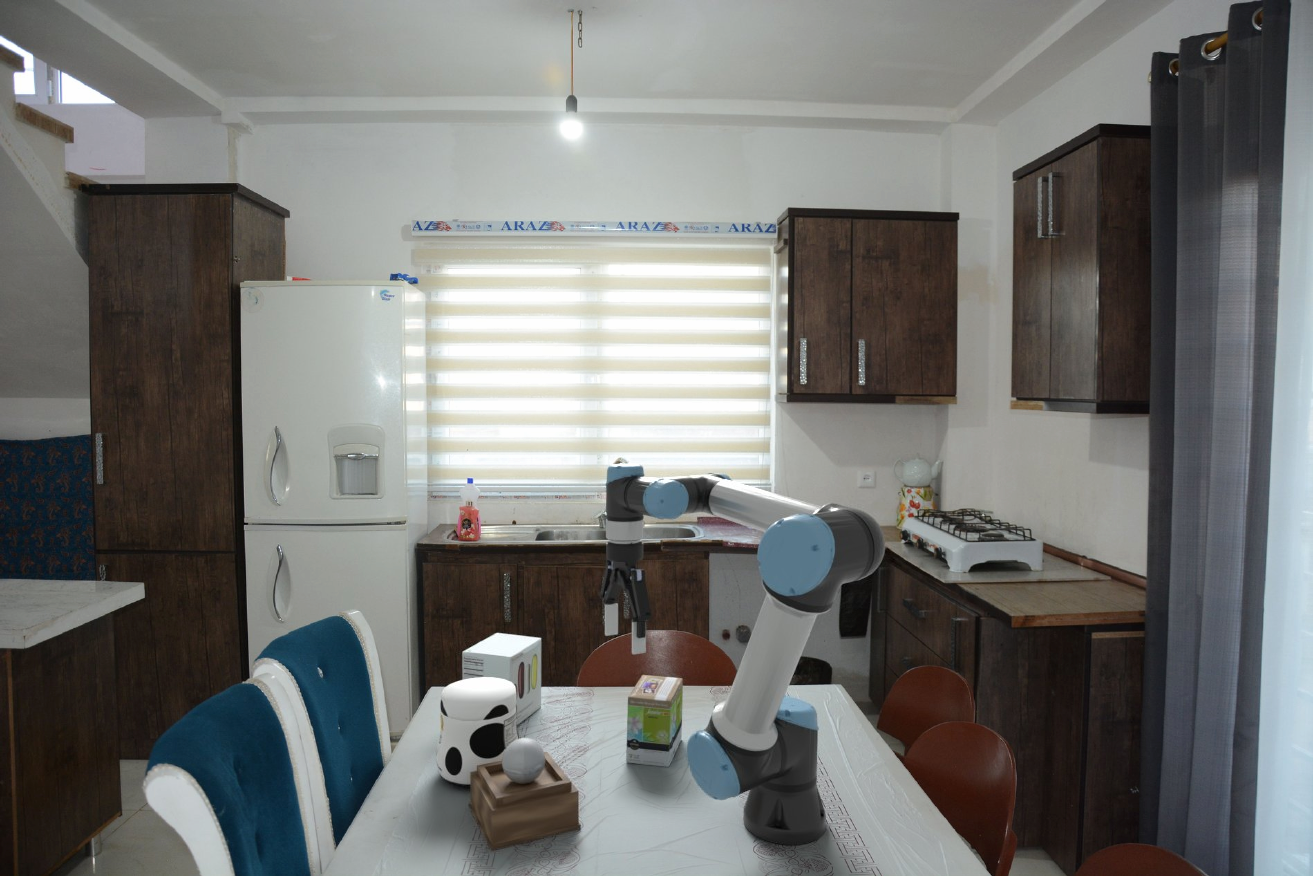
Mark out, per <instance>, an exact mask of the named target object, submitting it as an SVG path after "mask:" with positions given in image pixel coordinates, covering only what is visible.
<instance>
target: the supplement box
mask: <svg viewBox="0 0 1313 876" xmlns="http://www.w3.org/2000/svg"><path fill="white" fill-rule="evenodd" d="M461 656H462V660H461V662H462V663H461V664H462V666H461V667H462V669H461V670H462V680H465V679H470V678H480V677H493V678H500V679H505V680H507V681H510V682H512V683H513V684H514V685H515V688H516V695H517V700H516V705H517V726H518V725H520V724H521V723H523V721H524V720H526V719H528V717H529V716H530V717H531V715H533V714H534V713H535V712H536V711H538V710H539V709H541V707H542V637H537V636H536V637H535V636H527V635H518V634H511V633H509V634H508V633H501V632H496V633H493V634H492V635H490V636H489V637H487V638H485V639H483V640H481V641H479V642H478V643H476V644H474V645H472V646H471V647H468V648H466V649H465V650H463V651H462V654H461Z"/></svg>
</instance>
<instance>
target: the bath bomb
mask: <svg viewBox="0 0 1313 876" xmlns="http://www.w3.org/2000/svg"><path fill="white" fill-rule="evenodd" d="M544 752H545V751H544V748H543V747H542V745H541V744H540V743H539V742H538V741H537V740H535V739H533V738H530V737H522V738H520V739H517V740H515V741H513V742H512V743H511V744H509V746H508V747H507V748H506V750H505V752H504V754H503V758H502V766H503V770H504V773H505V774H506V776H507V777H508V778H509V779H510V780H511V781H513V782H515V783H519V784H526V783H530V782H532V781H534V780H535V779H537V778H538V777H539V775H540V774H541V773H542V771H543V769H544V766H545V754H544Z"/></svg>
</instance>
